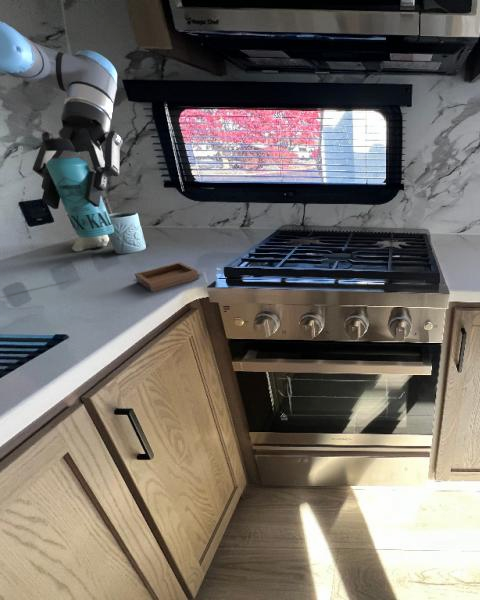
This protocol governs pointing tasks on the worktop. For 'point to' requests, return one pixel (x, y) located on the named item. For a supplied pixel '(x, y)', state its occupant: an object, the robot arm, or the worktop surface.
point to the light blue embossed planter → (126, 233)
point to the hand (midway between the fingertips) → (71, 203)
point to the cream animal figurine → (90, 243)
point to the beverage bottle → (77, 192)
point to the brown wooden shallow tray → (166, 276)
